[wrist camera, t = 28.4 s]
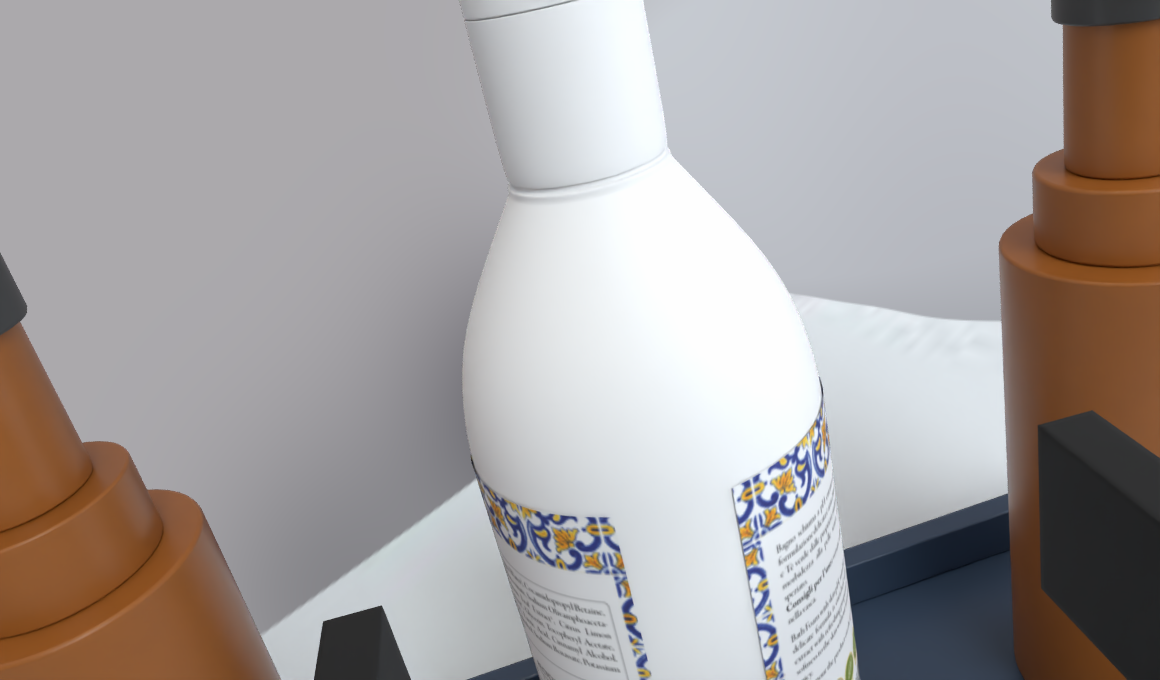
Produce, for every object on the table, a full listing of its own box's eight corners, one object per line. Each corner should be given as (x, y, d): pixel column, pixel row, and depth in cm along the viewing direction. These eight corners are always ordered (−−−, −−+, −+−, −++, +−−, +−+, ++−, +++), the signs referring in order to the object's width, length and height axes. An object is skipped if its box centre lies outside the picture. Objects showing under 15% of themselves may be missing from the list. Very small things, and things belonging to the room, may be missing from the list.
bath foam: (825, 676, 26) (710, -91, 18) (925, 914, 20) (819, -100, 12) (583, 730, 27) (363, -7, 18) (607, 983, 20) (287, 29, 12)
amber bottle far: (1006, 715, 24) (973, -12, 17) (1021, 585, 28) (1000, -52, 21) (1245, 759, 22) (1329, -68, 14) (1225, 610, 25) (1284, -101, 18)
